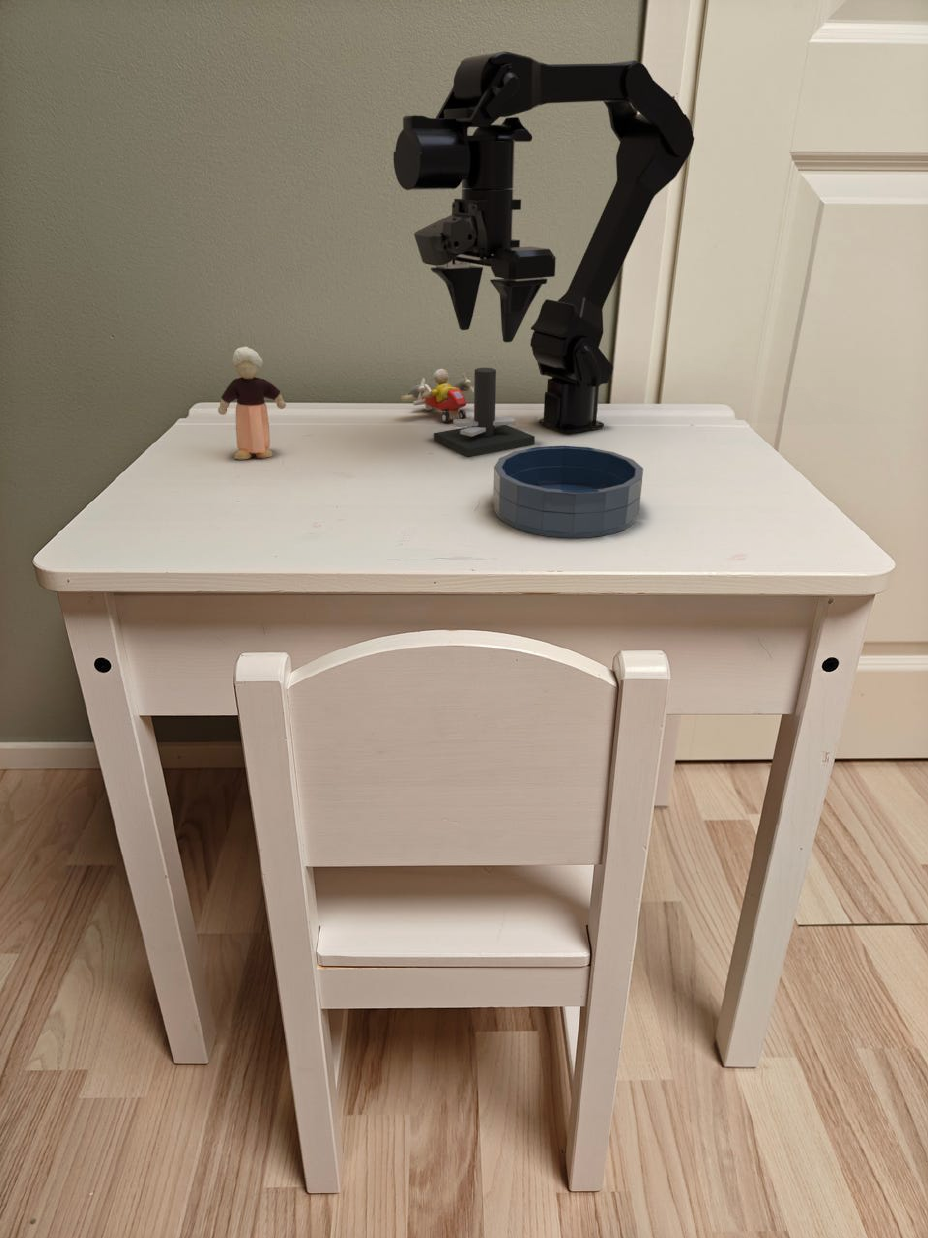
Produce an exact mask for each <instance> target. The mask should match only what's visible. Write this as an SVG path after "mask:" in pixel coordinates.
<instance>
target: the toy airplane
mask: <svg viewBox="0 0 928 1238" xmlns="http://www.w3.org/2000/svg"><path fill="white" fill-rule="evenodd" d="M461 376H462V379H459V380H458V381H457V382H456V383H455V384H454V386H452V385H451V384H450V383H449V382H448V381H449V372H448V371H447V370H446V369H445V368H438V369H437V370H435V371H434V374H433V380H434V382H435V383H436V384H437V385H436V387H435V388H434V389H431V387H430V386H429V385H428V384H427V383H426V378H424V377H422V379H421V382H420V384H415V385H413V386H412V387H410V388H409V389H408V392H407V395H402V396H400V401H401V402H406V401H412V405H413V406H421V405H424V407H425V410H426V411H430V410H433V409H436V410H439V411H441V412H442V413H441V420H442V422H443V423H448V422H449V421H450V420H453V419H467V413H466V411H465V408H464V407H466V406H467V401H466V398H465V396H464V394H465V393H470V392H471V393H472V394H474V386H472V380H471V379H468V377H467V376H466V373H465V372H462V374H461Z"/></svg>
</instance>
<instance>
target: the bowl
mask: <svg viewBox="0 0 928 1238" xmlns="http://www.w3.org/2000/svg"><path fill="white" fill-rule="evenodd" d="M643 475H644V468H643V466H641V465H640V464H639V463H638V462H636V460H634V459H632V458H630V457H628V456H626V455H625V456H624V455H622V454H620V453H617V452H614V451H610V450H606V449H599V448H595V447H589V446H575V445H545V446H535V447H530V448H524V449H519V450H514V451H512V452H510V453H508V454H506V455H503V456H501V457H499V458H498V460H497V461H496V463H495V465H494V466H493V493H492V496H493V498H492V500H493V501H492V505H493V506H494V512H495V515H496V516H497V517H498V519H500V520H501V521H502V522H503V523H505V524H507V525H508V526H509V527H510V526H511V527H512V528H515V529H518V530H520V531H523V532H526V533H530V534H535V535H539V536H545V537H553V538H566V539H568V538H569V539H580V538H581V539H582V538H594V537H595V538H596V537H603V536H607V535H612V534H616V533H619V532H622V531H625V530H626V529H628V528H630V527H631V526H633V525H634V524H635V523H636V521H637V520H638V518H639V514H640V513H639V512H640V506H641V505H640V504H641V496H642V495H641V494H642V484H643V477H644V476H643Z"/></svg>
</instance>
